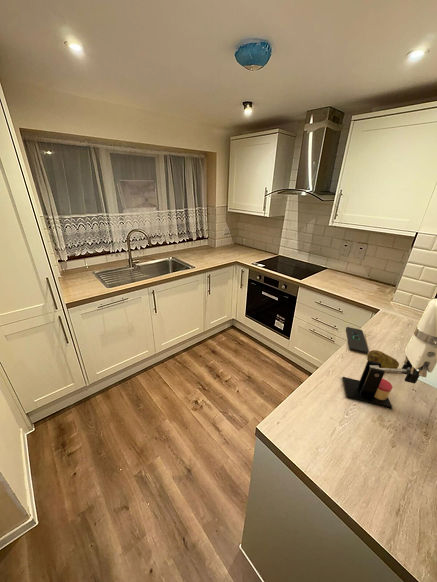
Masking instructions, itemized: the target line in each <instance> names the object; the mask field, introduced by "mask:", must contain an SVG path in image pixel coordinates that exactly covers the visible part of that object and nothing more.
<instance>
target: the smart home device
mask: <svg viewBox="0 0 437 582" xmlns="http://www.w3.org/2000/svg"><path fill="white" fill-rule="evenodd" d="M345 333H346V339H347V346H348V351H350V352H354V353H360V354H364V355H368V353H369V348H368V344H367V342H366V337H365V335H364V331H363V329H359V328H354V327H350V326H346V328H345Z"/></svg>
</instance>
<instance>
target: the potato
mask: <svg viewBox="0 0 437 582" xmlns="http://www.w3.org/2000/svg"><path fill="white" fill-rule="evenodd" d="M366 360H367V361H368V360H369V361H374V362H379V363H381V364H382V365H381V367H380V368H392V369H399V367H400V363H399V361H398V360H397V359H395V358H394V357H392V356H390V355H388V354H386V353H384V352H383V351H380V350H377V349H373V350H370V351H368V354H367V358H366Z"/></svg>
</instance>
